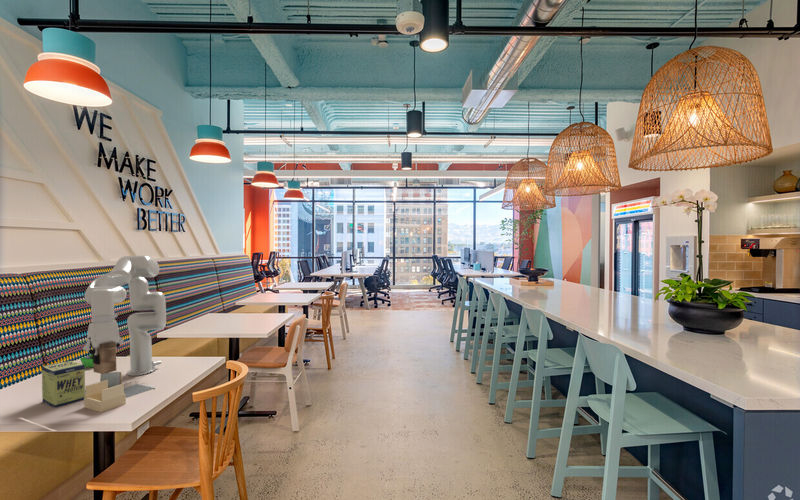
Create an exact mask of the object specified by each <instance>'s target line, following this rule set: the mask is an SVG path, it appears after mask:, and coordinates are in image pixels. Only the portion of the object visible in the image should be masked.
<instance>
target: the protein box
mask: <svg viewBox="0 0 800 500" xmlns="http://www.w3.org/2000/svg"><path fill="white" fill-rule="evenodd" d="M84 366H85V365H83V364H82V363H79V362H77V361H74V360H67V361H66V360H65V361H61V362H57V363H56V362H55V363H52V364H47V365H41V385H42V386H41V394H42V402H43V403H44V404H46V405H48V406H50V407H53V408H59V407H62V406H66V405H70V404H74V403H76V402H81V401H84V397H86V379H85V377H86V375H85V372H86V371H85V369H86V367H84Z"/></svg>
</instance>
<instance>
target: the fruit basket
mask: <svg viewBox="0 0 800 500" xmlns="http://www.w3.org/2000/svg"><path fill="white" fill-rule="evenodd" d="M79 360H80V362H81V364H83V365H85V366H84V367H85V368H93V355H92V354H88V355H87V356H84V357H80V358H79Z"/></svg>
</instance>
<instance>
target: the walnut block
mask: <svg viewBox="0 0 800 500" xmlns="http://www.w3.org/2000/svg"><path fill="white" fill-rule="evenodd" d="M98 355H100V364H99V365H96V364H94V363H93V367H92V368H93V369H92V370H93V373H97V374H100V375H101V374H106V373H111V372H117V350H116V342H110V343H105V344H100V347H99V352H98Z"/></svg>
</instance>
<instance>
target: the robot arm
mask: <svg viewBox="0 0 800 500" xmlns="http://www.w3.org/2000/svg"><path fill="white" fill-rule="evenodd" d="M159 274H160V266H159V263H158V261H157V260H155V259H154V258H152V257H150V256H148V255H125V256H122V257H120V258H119V259H118V260H117V262H116V263H115V265H113V268H112V270H111V271H110V272H107V273H105V274H103V275H101V276H99V277H97V278H95V279H93V280H92V281H91V282H90V284H89V285H88V287H87V288H86V290H85V293H84V301H85V302H86V303H87V304H89V305H90V306H91V322H90V323H89V324H88V329H87V337H86V343H85V344H84V346H83V347H82V350H83V351H85V352H88V353H89V354H90V355H93V363H94V364H96V365H99V364H100V355H98V352H99V347H100V344H105V343H110V342H116V351H117V350H118V348H119V347H120V346H121V345H122V344H123V343H124V341H125V340H124V339H123V337H122V336H120V331H119V326H118V322H117V320H116V318H118V316H119V315H118V313H115V304H121V303H123V302H124V301H125V300H126V298H127V295H128V294H127V293H128V292H129V305H130V309H132V310H133V311H144V312H135V313H132V314H130V315H129V316H128V317H127V321H126V322H127V323H126V324H127V329H128V334H129V356H130V357H129V358H130V359H129V360H130V364H129V365H130V367H129V368H130V370H128V371H127V372H126V375H127V376H130V377H135V376H143V374H144V375H147V373H148V374H151V373H153V371H154V370H155V371H156V366H159V365H161V364H162V360H158V361H153V351H152V336H151V335H150V333H148V331H154V330H155V331H156V330H162V329H164V328H165V327H166V325H167V303H166V302H167V301H166V296H165V293H163V292H161V291H150V290H149V282H148V280H147V279H146V278H155V277H157V276H158V275H159ZM125 285H128V289H129V291H128V292H127V290H126V289H125V288H124V287H123V286H125ZM152 310H153V311H152ZM148 311H149V312H148ZM155 371H154V372H155ZM150 372H151V373H150Z"/></svg>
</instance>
